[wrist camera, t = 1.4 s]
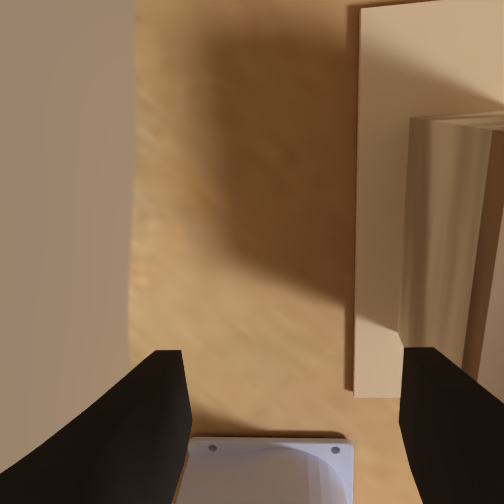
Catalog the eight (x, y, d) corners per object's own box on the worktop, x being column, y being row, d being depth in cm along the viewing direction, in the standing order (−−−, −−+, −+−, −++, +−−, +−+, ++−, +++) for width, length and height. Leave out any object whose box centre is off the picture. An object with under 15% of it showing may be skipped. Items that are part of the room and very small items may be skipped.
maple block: (397, 332, 19) (463, 475, 12) (409, 117, 16) (514, 133, 9) (483, 330, 19) (606, 478, 12) (516, 109, 16) (723, 119, 8)
